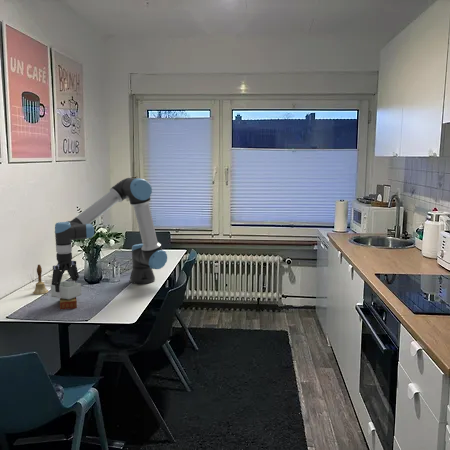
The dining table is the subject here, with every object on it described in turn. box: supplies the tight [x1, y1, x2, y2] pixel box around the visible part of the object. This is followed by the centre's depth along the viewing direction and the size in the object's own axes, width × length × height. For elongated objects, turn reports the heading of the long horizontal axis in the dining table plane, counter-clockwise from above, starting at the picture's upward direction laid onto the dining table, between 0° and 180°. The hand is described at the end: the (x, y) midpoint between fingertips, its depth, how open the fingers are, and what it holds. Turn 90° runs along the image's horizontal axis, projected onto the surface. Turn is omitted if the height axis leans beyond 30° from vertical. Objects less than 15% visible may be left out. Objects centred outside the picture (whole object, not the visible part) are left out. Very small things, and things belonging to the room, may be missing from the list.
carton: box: [59, 297, 78, 311], centre depth 235 cm, size 8×16×4 cm, turn 20°
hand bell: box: [32, 264, 50, 295], centre depth 255 cm, size 8×8×16 cm
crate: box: [50, 280, 83, 300], centre depth 234 cm, size 9×12×6 cm
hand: (66, 295), depth 234 cm, fingers closed on crate, 9 cm apart
